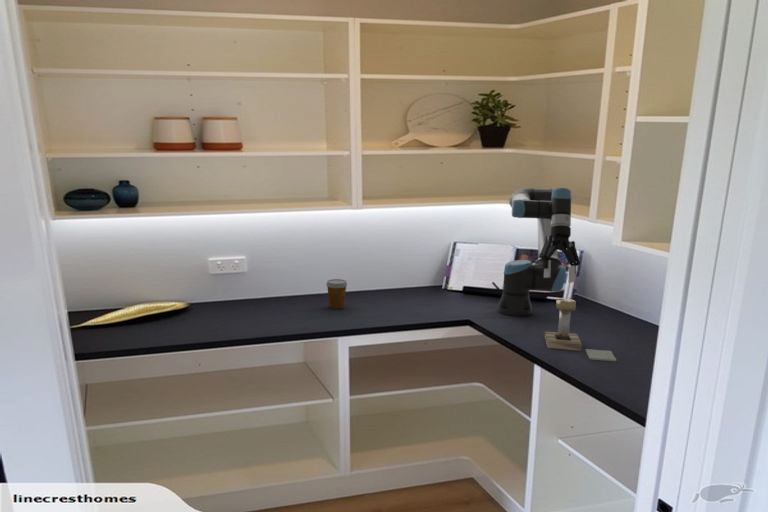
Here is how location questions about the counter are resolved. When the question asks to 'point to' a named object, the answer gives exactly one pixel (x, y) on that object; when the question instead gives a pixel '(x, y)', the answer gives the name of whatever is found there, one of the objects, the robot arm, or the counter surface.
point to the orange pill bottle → (336, 292)
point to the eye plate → (563, 341)
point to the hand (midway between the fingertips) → (559, 280)
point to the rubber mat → (600, 355)
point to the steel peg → (564, 317)
